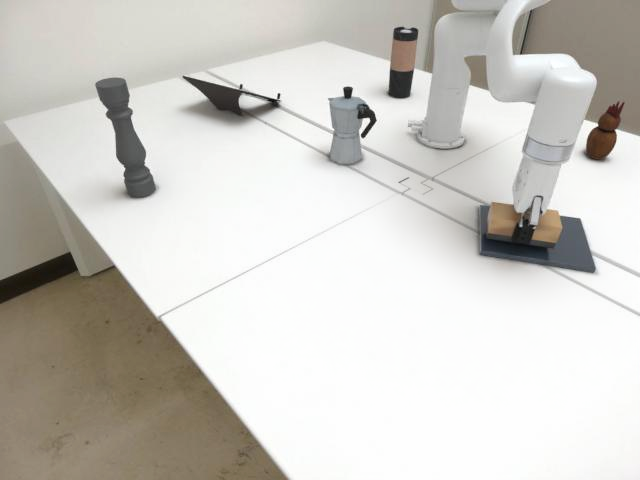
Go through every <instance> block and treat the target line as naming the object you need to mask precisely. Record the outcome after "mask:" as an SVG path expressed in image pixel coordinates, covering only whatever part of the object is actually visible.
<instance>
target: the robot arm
mask: <svg viewBox="0 0 640 480" xmlns="http://www.w3.org/2000/svg"><path fill="white" fill-rule="evenodd" d="M450 1H451V4H452V6H453V7H454V8H455V9H457V10H460V11H459V12H458V11H457V12H451V13H447V14H445V15H443V16H441V17H440V18H439V19H438V20H437V22H436V23H435V26H434V31H433V33H434V34H433V63H432V73H431V80H430V87H429V94H428V101H427V107H426V112H425V113H426V114H425V117H424V120H421V119H420V120H419V121H418V120H414V119H413V120H412V119H408V122H407V128H411V131H414V132H417V136H416V138H417V139H418V141H419V142H420V143H421V144H423V145H424V146H427V147H430V148H433V149H441V150H448V149H449V150H451V149H456V148H458V147H460V146H462V145H463V144H464V143H465V138H466V135H465V134H464V133H463V132H462V131H461V128H462V125H463V118H464V114H465V110H466V104H467V100H468V94H469V89H470V85H471V80H472V73H471V69H470V67H469V65H468V64H467V62H466V60H465V59H466V57H472V56H473V57H474V56H475V57H477V56H485V64H486V66H485V67H486V81H487V87H488V91H489V93H490V95H491V98H493V99H494V100H495V101H497V102H499V103H508V104H509V103H511V104H513V103H529V102H530V103H531V102H535V104H534V108H533V111H532V114H531V118H530V120H529V124H528V128H527V131H526V134H525V138H524V140H523V144H522V148H521V153H522V158H521V160H520V164H519V166H518V169H517V171H516V174H515V177H514V180H513V183H512V187H511V188H512V190H511V191H512V199H513V205H514V208H515V210H516V212H517V213H519V212H520V213H521V216H520V220H519V224H518V223H517V224H516V227H515V230H514V233H513V236H512V242H513V243H520V244H527V245H528V244H530V242H531V239H532V236H533V233H534V231H535V228H536V225H537V224H538V220H539V214H540V216H542V215H544V214H545V212H546V210H547V209H549V206H550V203H551V200H552V197H553V194H554V191H555V188H556V185H557V182H558V179H559V174H560V172H561V167H562V165H564V164H566V163H568V162H569V161H570V158H571V156H572V153H573V151H574V148H575V145H576V143H577V140H578V137H579V135H580V132H581V129H582V127H583V124H584V121H585V120H586V119H585V118H586V116H587V113H588V110H589V108H590V105H591V102H592V100H593V97H594V94H595V91H596V89H597V85H598V80H597V78H596V76H595V74H593V73H592V72H590V71H588V70H586V69H582V67H581V66H580V65H579V63H578V62H577V60H576V59H575V58H574V57H573V56H571V55H569V54H566V53H529V54H528V53H527V54H514V51H513V34H514V29H515V25H516V23H517V21H518V19H519V18H520V17H521V16H522V15H523V14H526V13H527V12H530V11H532V10H534V9H536V8H539V7H541V6H544V5H546V4H547V3H549V2H551V1H552V0H450ZM529 207H530V208H531V210H527V209H528V208H529ZM525 214H528V215H530V217H529V218H528V219H525V220H524V218H525Z"/></svg>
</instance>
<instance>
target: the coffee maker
mask: <svg viewBox="0 0 640 480" xmlns="http://www.w3.org/2000/svg"><path fill="white" fill-rule="evenodd" d="M353 90H354V88H353V87H352V86H350V85H349V86H348V85H347V86H343V88H342V92H343V95H341V96H337V97H336V96H335V97H328V98H327V100H328V101H329V102H328V105H329V112H330V120H331V128H332V129H333V134H332V139H331V145H330V151H329V159H330V161H331V162H333V163H336V164H338V165H340V166H344V165H347V166H348V165H355V164H357V163H359V162H361V161H362V160H363V155H362V154H363V153H362V145H361V138H362V139H365V138H366V137H367V135H368V134H369V133H370V131H371V130H372V128H373V127H374V126H375V124H376V123H377V116H376V113H375V111H374V110H373V109H371V107H370V106H369V104H367V101H365V100H363V99H362V98H361V97H359V96H353V92H354V91H353ZM364 119H369V122H368V123H367V125H366V127H365V128H364V129H363V131H362V132H361V133H360V129H361V128H362V125H363V120H364Z"/></svg>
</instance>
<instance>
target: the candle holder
mask: <svg viewBox="0 0 640 480" xmlns="http://www.w3.org/2000/svg"><path fill="white" fill-rule="evenodd" d="M94 86H95V89H96V92H97V95H98V98H99V101H100V102H101V104H102V105H103V107H104V108H106V110H107V111H106V112H105V117H106V118H107V119H108V120H110V121H111V125H112V129H113V131H114V136H115V140H114V141H115V157H116V159H117V161H118V162H119V163H120V164H121V165H122V166H123V168H124V171H123V173H122V175H123V177H124V179H123V183H124V186H125V189H126V193H127V195H128V196H129V197H131V198H133V199H143V198H146V197H150V196H151V195H153V194H154V193H155V192H156V189H157V188H156V183H155V179H154V176H153V174H152V173H151V169H150V168H149V167H148V166H146V162H145V161H146V159H147V150H146V148H145V146H144V145H143V142H142V141H141V139H140V137H139V136H138V134H137V132H136V130H135V128H134V124H133V120H132V116H133V114H134V110H133V109H132V108H131V107H129V104H130V97H131V95H130V91H129V86H128V84H127V80H126V79H125V78H124V77H114V76H113V77H108V78H107V77H106V78H102V79H100V80H98V81H96V82H95V84H94Z"/></svg>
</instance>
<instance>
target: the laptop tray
mask: <svg viewBox="0 0 640 480" xmlns="http://www.w3.org/2000/svg"><path fill="white" fill-rule="evenodd" d="M181 77H182V79H183V80H185V81H186V82H188V83H189V84H191V85H192V86H193V87H194V88H195V89H197V90H198V91H199V92H200V93H201V94H203V96H205V97H206V99H208V100H209V101H210V103H211V104H212V105H213V106H214V107H215V108H216V109H217V110H220V111H226V112H230V113H232V114H235V115H237V116H241V117H242V116H243V112H242V109H241V106H240V97H241V95H243V96H246V97H251V98H255V99H258V100H263V101H265V102H269V103H271V104H275V105H279V102H282V100H281V95H282V93H280V92H278V93H277V96H276V98H273V97H269V96H265V95H261V94H258V93H254V92H251V91H246V90H243V85H244V84H242V83H240V84H239V89H238V88H234V87H230V86H226V85H221V84H218V83H214V82H210V81H207V80H201V79H198V78H195V77H190V76H186V75H182V76H181Z"/></svg>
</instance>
